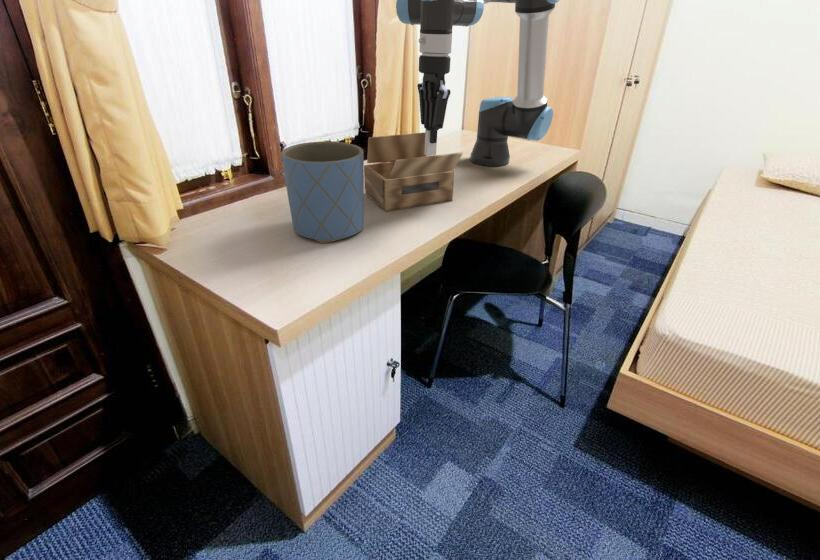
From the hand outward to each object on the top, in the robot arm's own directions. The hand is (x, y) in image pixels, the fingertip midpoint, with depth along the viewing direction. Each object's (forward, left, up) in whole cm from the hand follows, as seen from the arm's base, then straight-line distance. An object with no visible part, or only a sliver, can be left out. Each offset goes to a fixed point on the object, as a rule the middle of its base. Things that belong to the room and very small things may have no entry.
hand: (430, 154), depth 115 cm
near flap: (0, -3, -4) cm, 4 cm away
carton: (0, -13, -16) cm, 21 cm away
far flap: (0, -20, -3) cm, 20 cm away
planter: (+29, 0, -17) cm, 33 cm away
